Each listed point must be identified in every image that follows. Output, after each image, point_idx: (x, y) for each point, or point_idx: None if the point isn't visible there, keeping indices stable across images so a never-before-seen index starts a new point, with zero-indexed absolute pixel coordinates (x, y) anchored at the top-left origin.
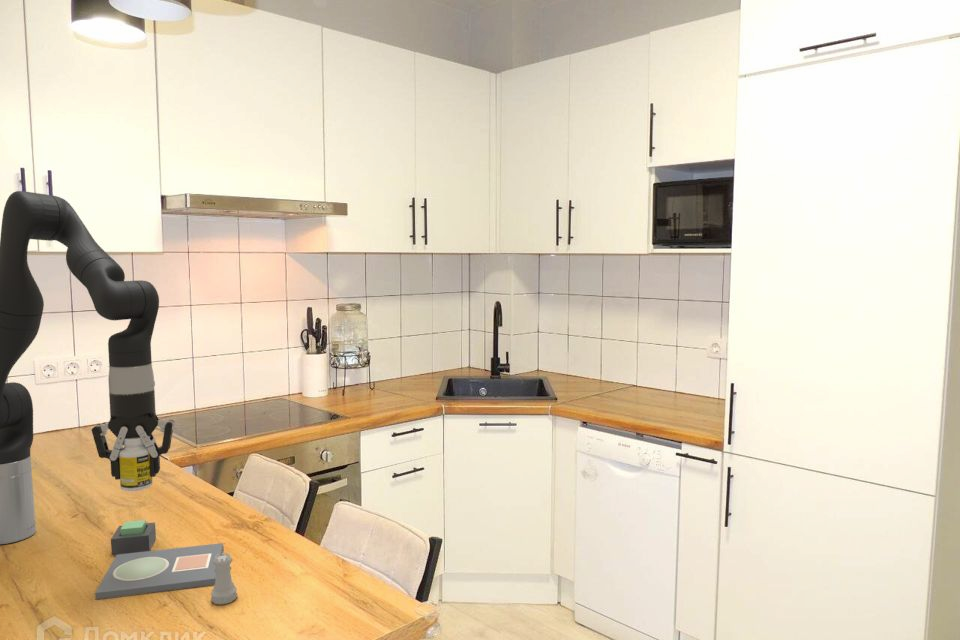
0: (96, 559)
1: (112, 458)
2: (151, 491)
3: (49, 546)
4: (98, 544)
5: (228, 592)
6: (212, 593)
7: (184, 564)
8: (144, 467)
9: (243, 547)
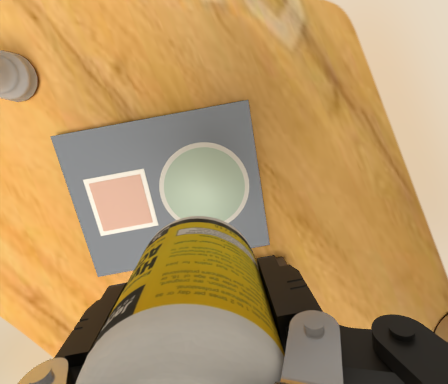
0: (302, 246)
1: (315, 318)
2: None
3: (394, 295)
4: (320, 298)
5: None
6: (19, 61)
7: (131, 194)
8: (125, 290)
9: (68, 273)
